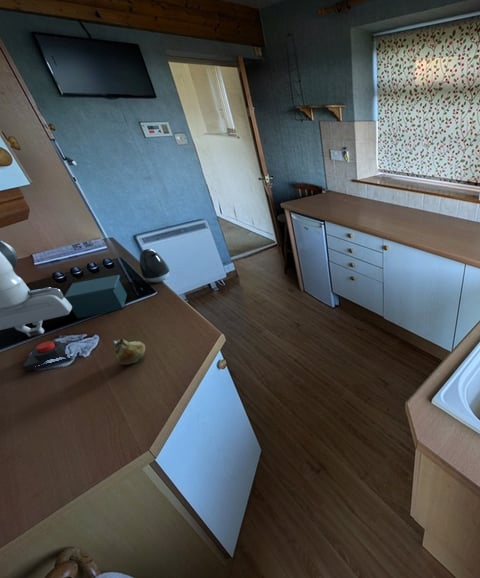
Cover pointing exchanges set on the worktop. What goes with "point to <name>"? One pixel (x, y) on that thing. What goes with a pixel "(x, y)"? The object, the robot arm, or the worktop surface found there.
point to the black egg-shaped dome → (153, 266)
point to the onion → (129, 351)
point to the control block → (46, 357)
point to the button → (45, 346)
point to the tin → (98, 302)
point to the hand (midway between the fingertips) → (37, 334)
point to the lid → (92, 286)
